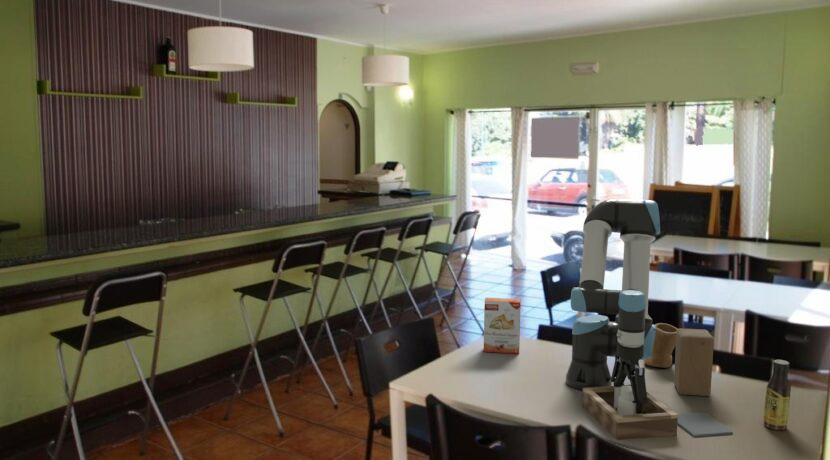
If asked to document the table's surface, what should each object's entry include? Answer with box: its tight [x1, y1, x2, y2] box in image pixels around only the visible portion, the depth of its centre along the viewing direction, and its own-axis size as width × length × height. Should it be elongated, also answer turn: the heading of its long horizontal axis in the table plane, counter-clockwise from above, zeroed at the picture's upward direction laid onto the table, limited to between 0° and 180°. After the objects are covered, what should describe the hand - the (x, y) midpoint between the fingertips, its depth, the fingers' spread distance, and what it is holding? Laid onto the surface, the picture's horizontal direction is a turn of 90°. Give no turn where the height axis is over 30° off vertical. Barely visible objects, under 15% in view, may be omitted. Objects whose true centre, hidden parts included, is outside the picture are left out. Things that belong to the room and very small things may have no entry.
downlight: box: [613, 384, 634, 416], centre depth 201 cm, size 8×7×10 cm
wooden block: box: [673, 327, 715, 397], centre depth 223 cm, size 10×10×20 cm
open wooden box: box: [581, 384, 679, 441], centre depth 202 cm, size 24×18×6 cm
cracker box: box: [483, 297, 522, 355], centre depth 265 cm, size 14×6×21 cm, turn 80°
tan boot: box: [643, 322, 678, 368], centre depth 251 cm, size 15×12×15 cm
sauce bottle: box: [762, 359, 792, 431], centre depth 195 cm, size 6×6×20 cm
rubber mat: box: [677, 411, 734, 438], centre depth 198 cm, size 14×12×1 cm
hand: (627, 415), depth 202 cm, fingers open, 11 cm apart
